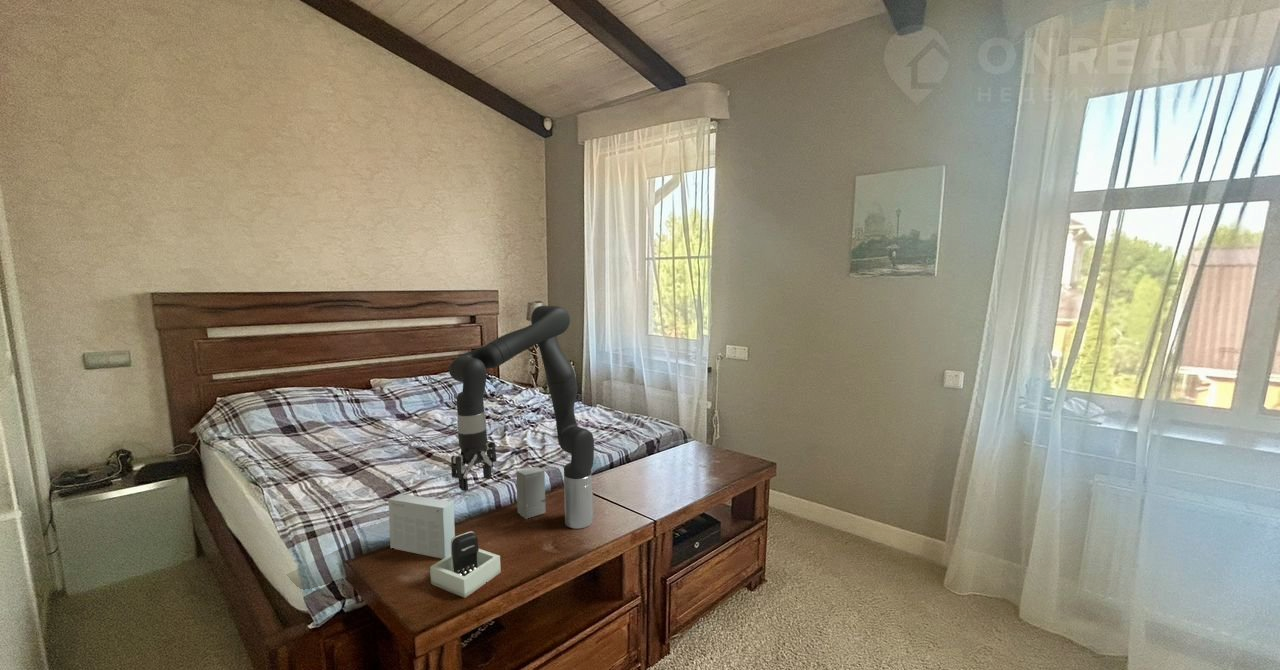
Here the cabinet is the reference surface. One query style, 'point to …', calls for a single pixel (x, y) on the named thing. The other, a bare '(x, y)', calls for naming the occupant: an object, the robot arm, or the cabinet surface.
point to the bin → (472, 581)
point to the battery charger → (464, 553)
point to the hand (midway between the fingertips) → (476, 484)
